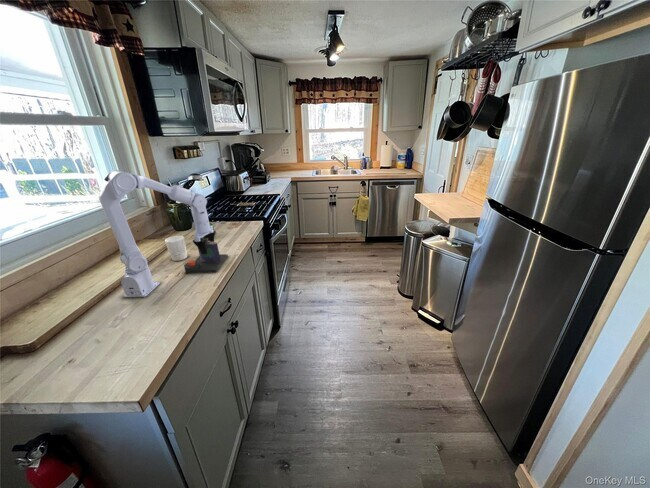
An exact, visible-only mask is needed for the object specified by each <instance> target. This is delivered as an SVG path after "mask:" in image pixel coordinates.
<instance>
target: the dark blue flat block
mask: <svg viewBox="0 0 650 488" xmlns="http://www.w3.org/2000/svg"><path fill="white" fill-rule="evenodd" d="M207 239H208V238H207ZM197 251H198V254H199V256H200V260H201V262H220V261H221V258H220V250H219V246H218V243H217V241H214V242H210V241H208V240H207V254H201V252H200V250H199V248H198V247H197Z"/></svg>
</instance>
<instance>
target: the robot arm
mask: <svg viewBox="0 0 650 488" xmlns="http://www.w3.org/2000/svg"><path fill="white" fill-rule="evenodd" d="M145 188H146V189H150V190H153V191H156V192H159V193H163V194H166V195H167V196H168V198H169V199H170V200H172V201H175V202H178V203H182V204H184V205H187V206H190V207H189V208H190V211H191V215H192V220H193V223H194V229H195V234H194V237H193V240H192V243H193V244H194V245H195V247H197V249H198V248H199V250H200V252H201V254H207V240H208V241H210V242H215V237H216V233H217V231H216V230H215V229H214V230H213V226H214V225H213V226H212V225H211V226H210V224H209V223H210V221H209V215H208V211H207V204H208V199H206V197H205V195H203V194H201V193H197V192H196V191H195V190H193V189H191V190H189V189H188V188H184V186H183V185H181V184H174V185H171V186H169V185H167V184H164V183H162V182H159V181H157V180H154V179H152V178H150V177H147V176H143V175H140V174H135V173H131V172H127V171H123V170H117V169H116V170H112V171H110V172H109V173H107V174H106V176H105V177H103V181H102V186H101V188H100V192H99V195H98V201H99V203H100V205H101V207H102V209H103V212H104V215H105V216H106V219H107V221H108V223H109V226H110V228H111V231H112V233H113V234H114V238H115V240H116V242H117V244H118V247H119V248H118V249H119V252H120V257H119V260H120V262H121V264H123V265H124V266H125V268H124V276H123V277H122V278H121V280H120V283H121V286H122V289H123V291H124V294H125V295H124V296H123V297H124V298H143V297H144V298H145V297H147V296H148V295H150V293H151V292H153V291H154V289H156V288H157V287H158V286H159V285H160V284H161V282H160V281H154V279H153V276H152V273H151V270H150V267H149V265H148V264H149V262H148V259H147V258H146V257H145V256H144V255H143V254H142V251H141V250H140V248H139V247H138V245H137V243H136V240H135V238H134V235H133V232H132V230H131V227H130V226H129V223H128V220H127V218H126V216H125V215H126V214H125V213H124V211H123V207H122V205H121V203H120V202H121V201H122V200H123V198H124V197H125V196H126V195H127V194H129V193H131V192H133V191H134V190H135V189H138V190H140V189H145ZM203 237H205V239H203ZM207 238H208V239H207Z"/></svg>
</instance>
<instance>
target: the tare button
mask: <svg viewBox="0 0 650 488" xmlns="http://www.w3.org/2000/svg"><path fill="white" fill-rule="evenodd" d="M195 260H196V259H190V260H187V262H186V263H187V264H188V266H194V265H195Z"/></svg>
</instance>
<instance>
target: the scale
mask: <svg viewBox="0 0 650 488" xmlns="http://www.w3.org/2000/svg"><path fill="white" fill-rule="evenodd" d="M219 254H220V253H219ZM220 258H221V261H220V262H201V260H200V255H199V256H198V257H197V258H196V259H194V260H195V265H194V266H188V264H187V262H186V263H185V264H184V265H183V267H184V271H185V274H204V273H205V274H206V273H207V274H208V273H211V274H212V273H218V271H219V270H220V268H221V267H222V266H223V264H224V263H225V262H226V260H228V258H229V254H227V253H226V254H220Z"/></svg>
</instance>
